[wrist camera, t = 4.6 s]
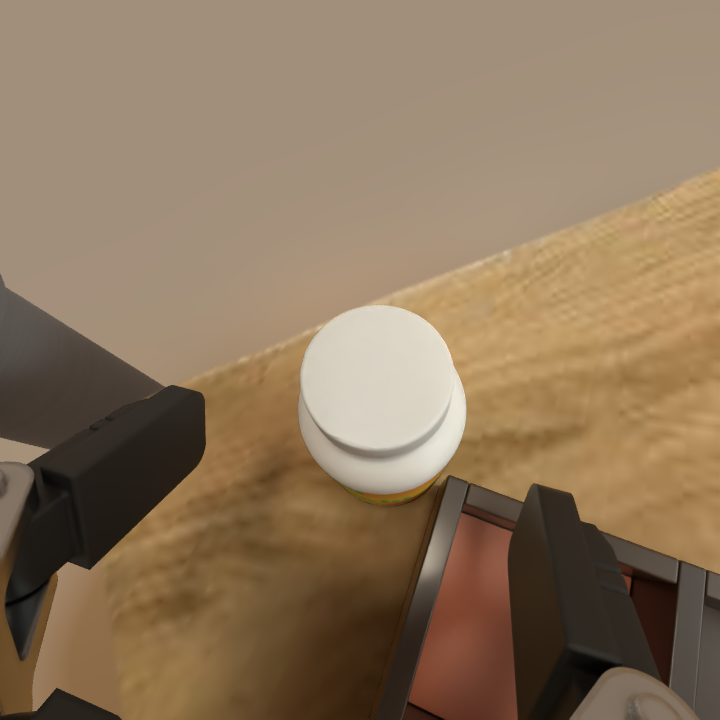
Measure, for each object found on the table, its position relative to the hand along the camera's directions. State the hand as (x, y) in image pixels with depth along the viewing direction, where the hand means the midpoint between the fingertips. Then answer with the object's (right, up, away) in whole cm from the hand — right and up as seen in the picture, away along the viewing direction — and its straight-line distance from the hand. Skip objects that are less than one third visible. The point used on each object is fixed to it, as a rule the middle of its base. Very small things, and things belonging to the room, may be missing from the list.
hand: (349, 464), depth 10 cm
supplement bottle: (+2, -2, +10) cm, 10 cm away
